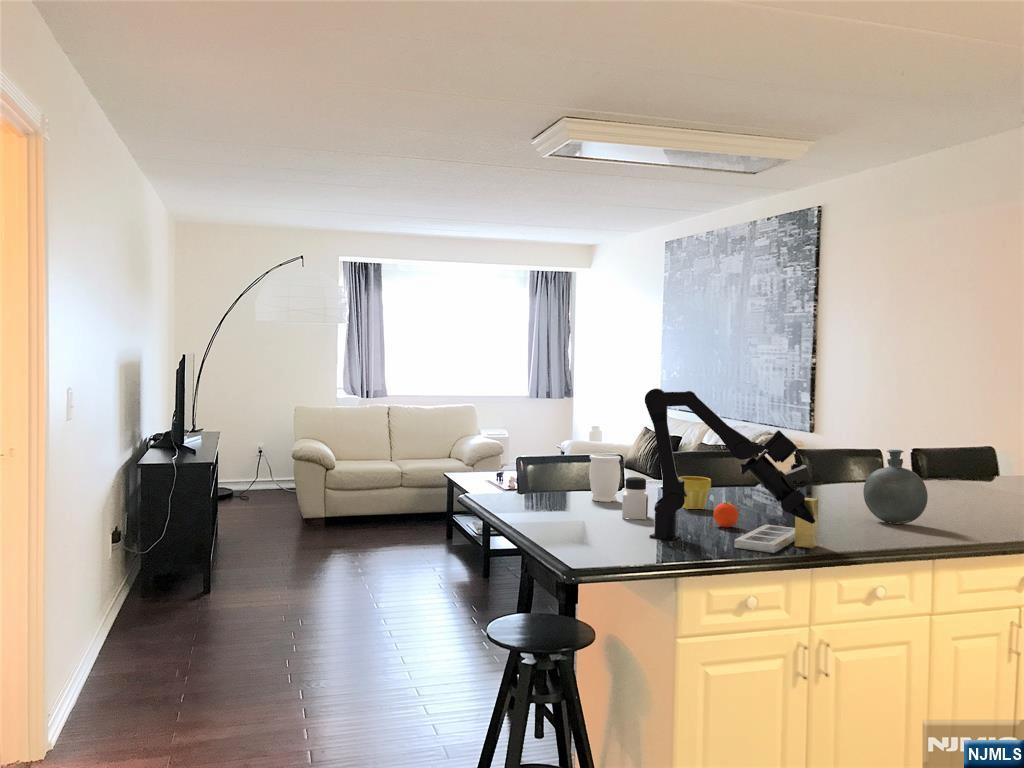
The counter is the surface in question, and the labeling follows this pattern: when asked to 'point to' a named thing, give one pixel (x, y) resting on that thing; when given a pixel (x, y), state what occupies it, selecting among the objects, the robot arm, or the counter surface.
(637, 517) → the medicine bottle
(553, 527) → the counter surface
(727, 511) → the tomato
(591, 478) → the jar
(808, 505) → the yellow tall block
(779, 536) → the white compartment tray
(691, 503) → the plant pot
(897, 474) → the flask
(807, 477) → the robot arm
